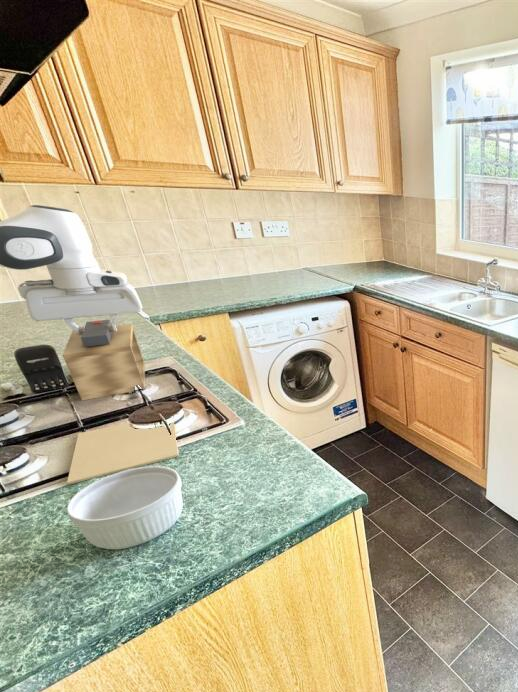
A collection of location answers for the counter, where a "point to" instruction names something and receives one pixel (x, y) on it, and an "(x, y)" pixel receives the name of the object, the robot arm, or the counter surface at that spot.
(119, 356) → the wooden crate
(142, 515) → the ramekin
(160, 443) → the mat
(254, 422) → the counter surface
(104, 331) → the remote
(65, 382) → the battery charger
